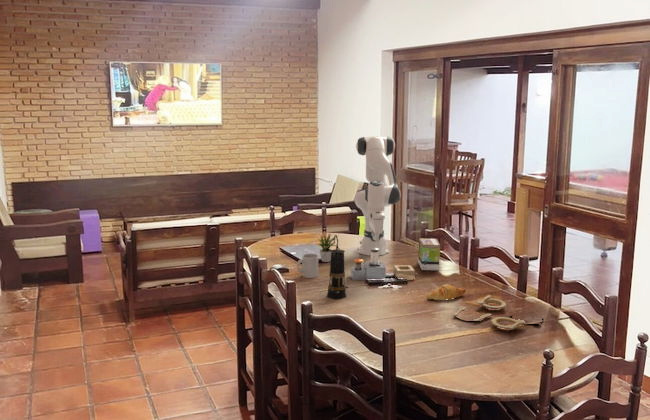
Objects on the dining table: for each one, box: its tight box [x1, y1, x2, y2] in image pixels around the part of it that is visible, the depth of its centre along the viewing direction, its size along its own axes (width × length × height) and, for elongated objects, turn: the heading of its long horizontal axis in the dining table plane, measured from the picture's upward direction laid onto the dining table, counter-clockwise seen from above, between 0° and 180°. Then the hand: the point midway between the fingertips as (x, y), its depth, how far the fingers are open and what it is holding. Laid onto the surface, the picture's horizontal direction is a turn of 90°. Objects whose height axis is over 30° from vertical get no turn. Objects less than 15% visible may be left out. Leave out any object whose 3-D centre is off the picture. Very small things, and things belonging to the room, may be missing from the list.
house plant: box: [315, 232, 336, 263], centre depth 350 cm, size 14×14×16 cm
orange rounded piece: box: [353, 258, 364, 270], centre depth 321 cm, size 5×5×9 cm
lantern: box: [326, 234, 349, 300], centre depth 291 cm, size 9×9×30 cm
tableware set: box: [452, 294, 525, 330], centre depth 268 cm, size 35×29×4 cm
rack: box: [393, 264, 416, 281], centre depth 323 cm, size 10×9×5 cm
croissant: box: [425, 283, 467, 301], centre depth 293 cm, size 21×10×8 cm
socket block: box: [362, 261, 387, 281], centre depth 322 cm, size 10×10×7 cm
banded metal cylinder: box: [370, 247, 380, 266], centre depth 321 cm, size 4×4×14 cm
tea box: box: [417, 238, 441, 271], centre depth 342 cm, size 15×10×15 cm, turn 179°
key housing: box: [350, 266, 366, 281], centre depth 321 cm, size 7×7×5 cm
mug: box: [296, 253, 319, 279], centre depth 323 cm, size 12×8×11 cm
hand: (375, 238), depth 318 cm, fingers open, 8 cm apart
